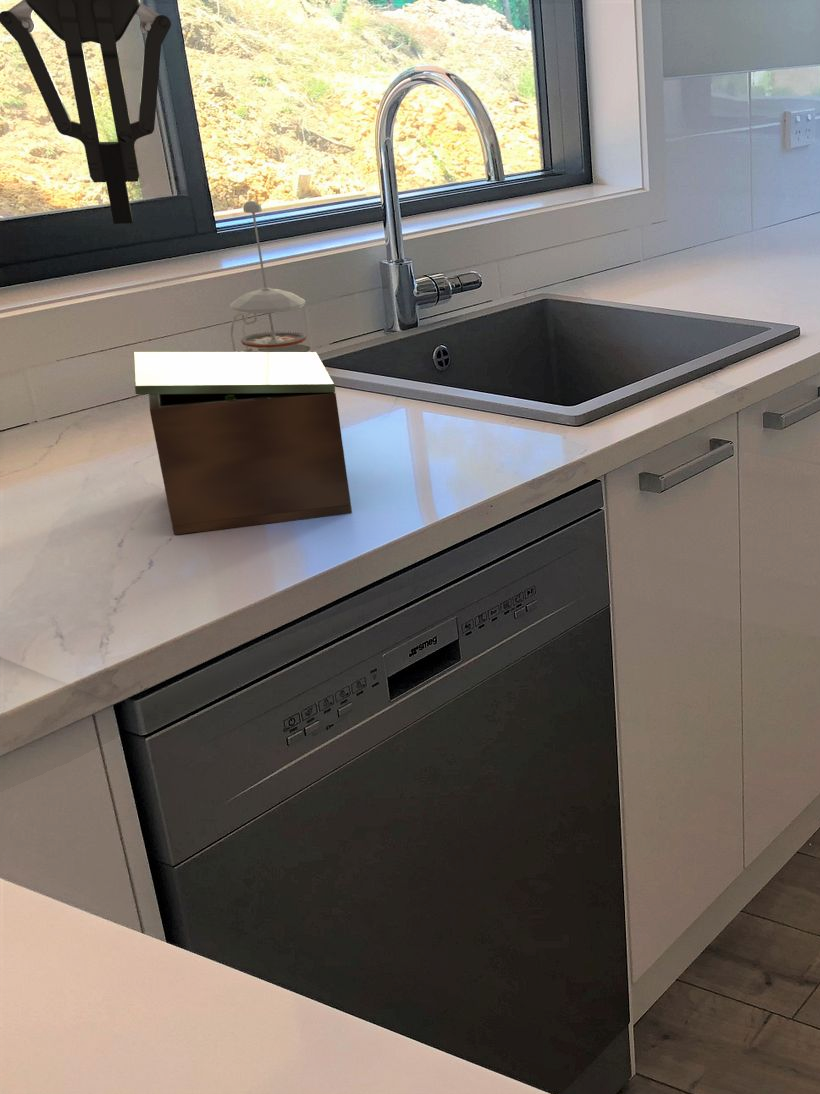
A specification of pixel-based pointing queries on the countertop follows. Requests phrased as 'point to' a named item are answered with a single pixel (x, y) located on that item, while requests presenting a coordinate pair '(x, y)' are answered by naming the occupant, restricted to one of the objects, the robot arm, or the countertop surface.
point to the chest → (249, 458)
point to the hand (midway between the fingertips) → (123, 221)
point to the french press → (267, 310)
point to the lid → (230, 373)
